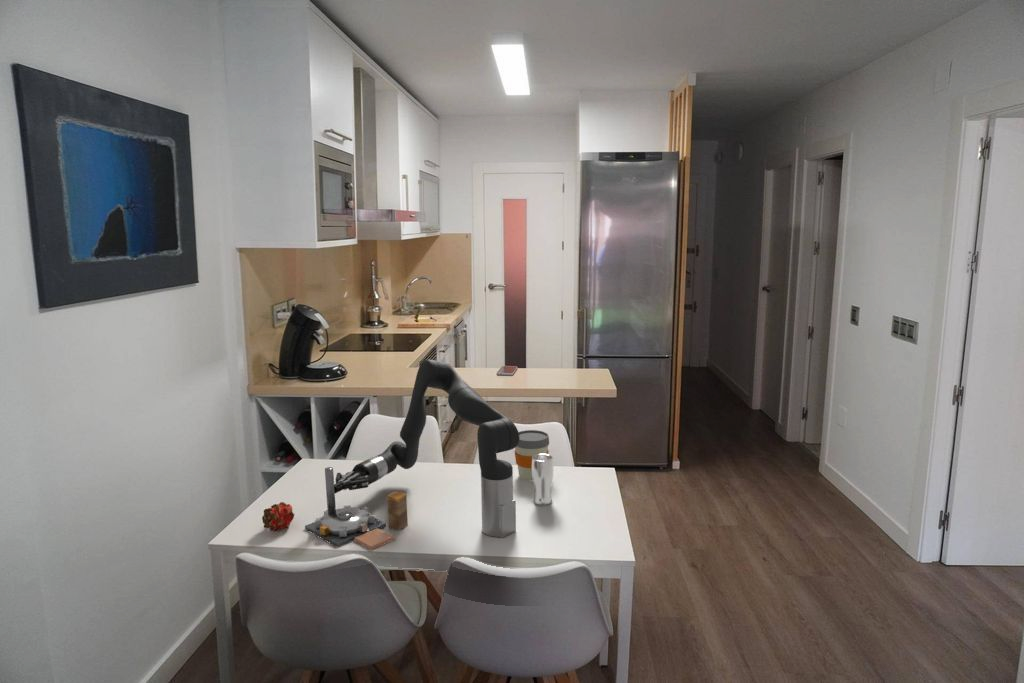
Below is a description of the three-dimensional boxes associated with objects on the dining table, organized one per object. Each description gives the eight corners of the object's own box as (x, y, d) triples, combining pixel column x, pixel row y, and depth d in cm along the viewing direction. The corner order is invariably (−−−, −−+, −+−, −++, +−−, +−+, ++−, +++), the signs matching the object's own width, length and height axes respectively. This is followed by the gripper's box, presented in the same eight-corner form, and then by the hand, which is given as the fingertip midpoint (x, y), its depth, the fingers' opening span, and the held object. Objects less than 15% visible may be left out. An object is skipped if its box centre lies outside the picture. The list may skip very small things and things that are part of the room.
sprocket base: (386, 526, 203) (386, 523, 203) (337, 547, 191) (336, 543, 191) (353, 510, 215) (353, 507, 214) (305, 528, 202) (304, 525, 202)
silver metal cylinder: (528, 503, 218) (527, 459, 215) (537, 495, 224) (537, 452, 221) (548, 507, 215) (547, 462, 212) (557, 499, 221) (556, 455, 218)
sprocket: (386, 520, 204) (383, 469, 201) (342, 542, 191) (338, 488, 188) (348, 506, 214) (345, 458, 211) (303, 527, 201) (299, 475, 198)
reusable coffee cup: (535, 485, 232) (535, 443, 230) (506, 477, 240) (506, 436, 237) (556, 474, 242) (556, 434, 239) (527, 466, 250) (527, 427, 247)
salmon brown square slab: (394, 539, 195) (394, 536, 195) (371, 549, 189) (371, 546, 189) (377, 531, 200) (377, 528, 200) (354, 540, 195) (354, 537, 194)
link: (407, 524, 204) (406, 493, 202) (399, 530, 201) (398, 498, 199) (396, 522, 206) (395, 491, 204) (388, 527, 203) (386, 496, 201)
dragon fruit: (265, 543, 197) (287, 530, 209) (286, 528, 196) (308, 516, 207) (249, 518, 198) (273, 506, 210) (271, 503, 196) (293, 492, 208)
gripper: (354, 456, 223) (315, 474, 208) (385, 463, 217) (348, 482, 202) (355, 478, 224) (317, 497, 209) (387, 485, 218) (349, 505, 203)
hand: (332, 490), depth 206 cm, fingers closed
